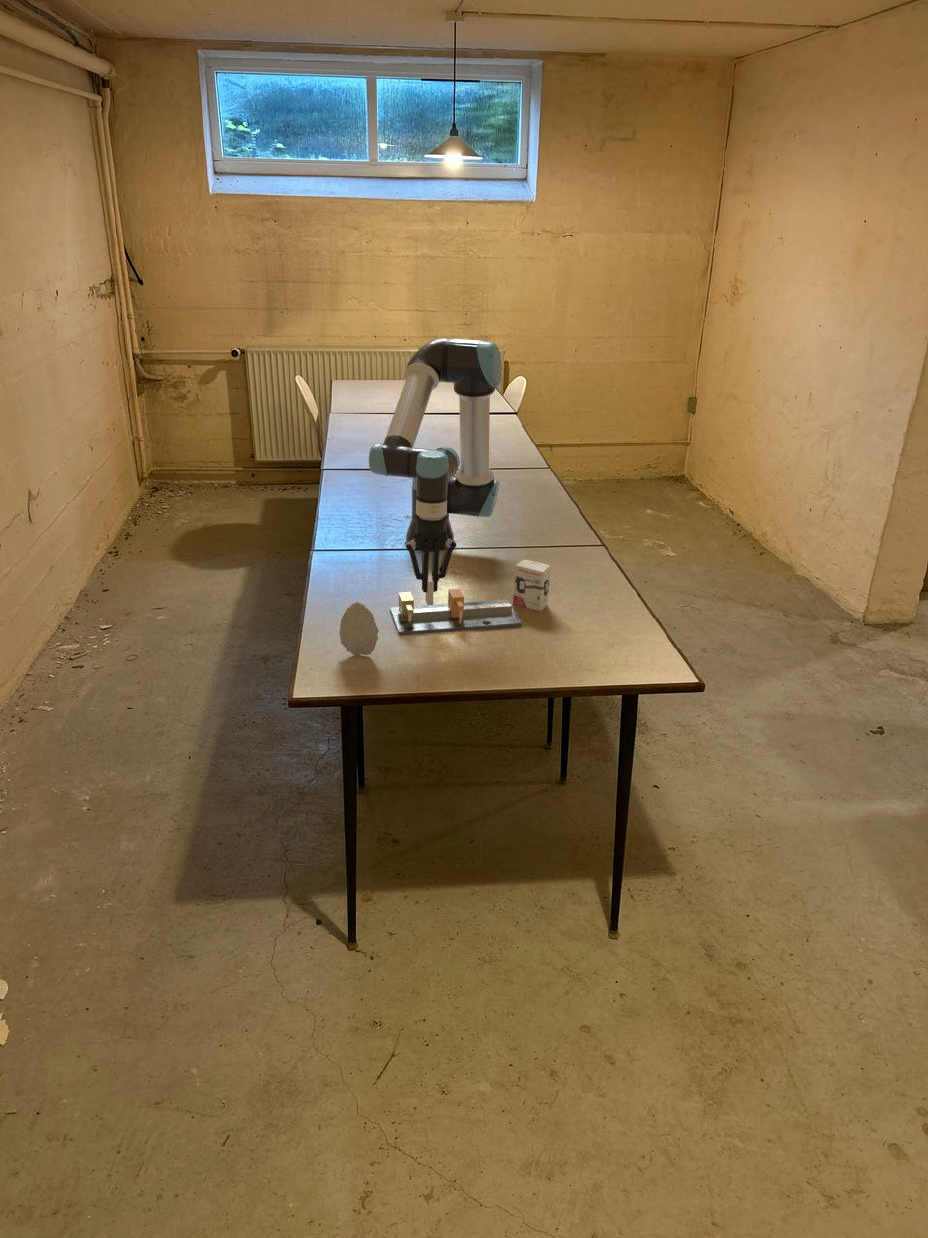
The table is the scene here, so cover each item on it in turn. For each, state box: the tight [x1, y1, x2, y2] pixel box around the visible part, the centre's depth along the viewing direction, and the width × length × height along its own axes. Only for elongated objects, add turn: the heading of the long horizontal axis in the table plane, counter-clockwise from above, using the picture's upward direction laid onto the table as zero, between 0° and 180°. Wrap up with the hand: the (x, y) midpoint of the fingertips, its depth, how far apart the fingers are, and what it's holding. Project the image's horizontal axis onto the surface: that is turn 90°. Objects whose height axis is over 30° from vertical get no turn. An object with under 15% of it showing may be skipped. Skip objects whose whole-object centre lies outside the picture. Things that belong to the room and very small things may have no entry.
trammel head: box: [447, 588, 465, 624], centre depth 218 cm, size 9×3×6 cm, turn 13°
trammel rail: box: [398, 591, 513, 628], centre depth 218 cm, size 9×30×6 cm, turn 103°
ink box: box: [512, 559, 552, 612], centre depth 228 cm, size 8×5×12 cm, turn 60°
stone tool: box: [338, 601, 379, 656], centre depth 198 cm, size 9×3×15 cm, turn 93°
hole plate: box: [389, 599, 523, 636], centre depth 221 cm, size 14×32×1 cm, turn 103°
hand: (429, 602), depth 217 cm, fingers closed
